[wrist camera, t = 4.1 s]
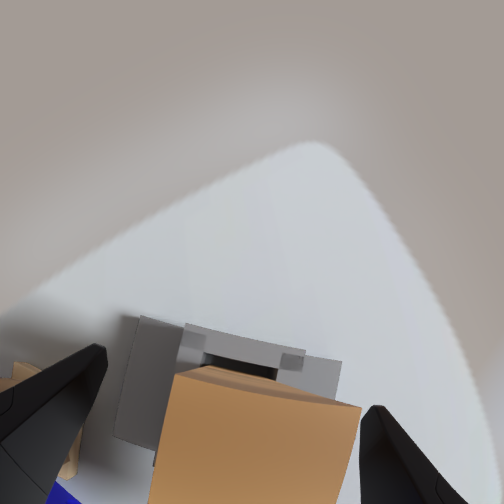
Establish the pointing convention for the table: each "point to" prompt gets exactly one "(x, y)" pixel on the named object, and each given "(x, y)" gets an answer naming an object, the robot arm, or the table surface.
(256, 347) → the rack
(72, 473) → the lower offcut
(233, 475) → the tall strip
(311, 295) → the table surface
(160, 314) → the table surface
